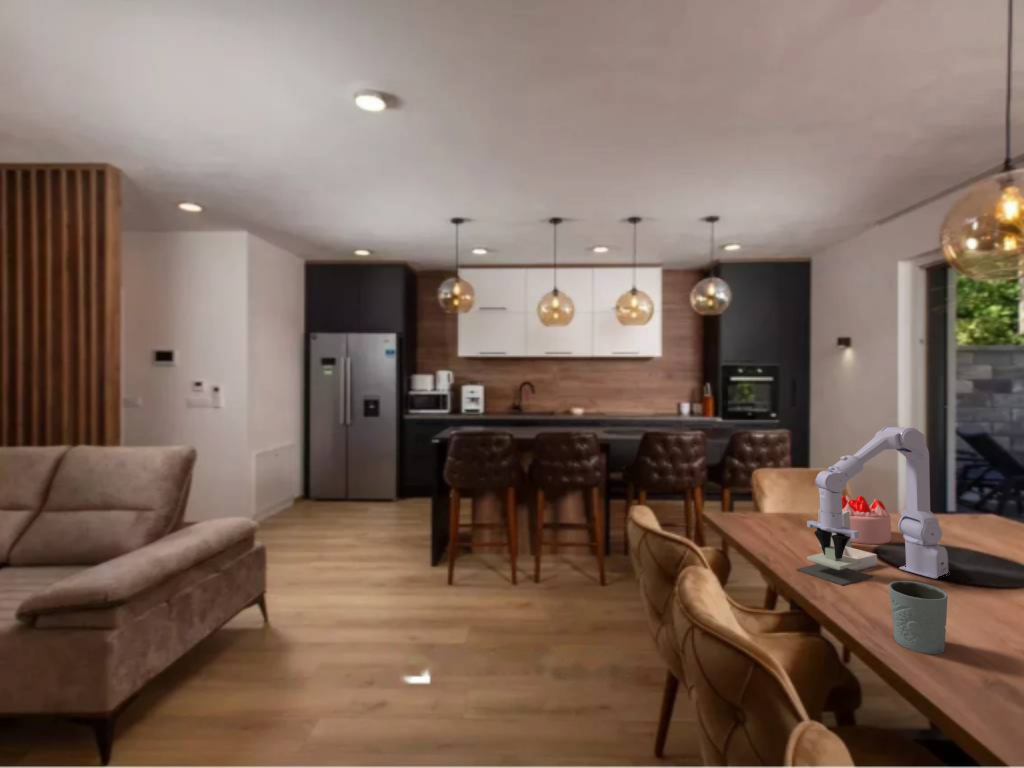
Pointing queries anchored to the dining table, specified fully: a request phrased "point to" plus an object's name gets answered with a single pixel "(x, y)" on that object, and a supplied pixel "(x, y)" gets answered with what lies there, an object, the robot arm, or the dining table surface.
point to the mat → (834, 574)
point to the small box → (845, 523)
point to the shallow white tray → (861, 558)
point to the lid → (833, 559)
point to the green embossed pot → (919, 616)
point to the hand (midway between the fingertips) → (832, 556)
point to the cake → (868, 520)
